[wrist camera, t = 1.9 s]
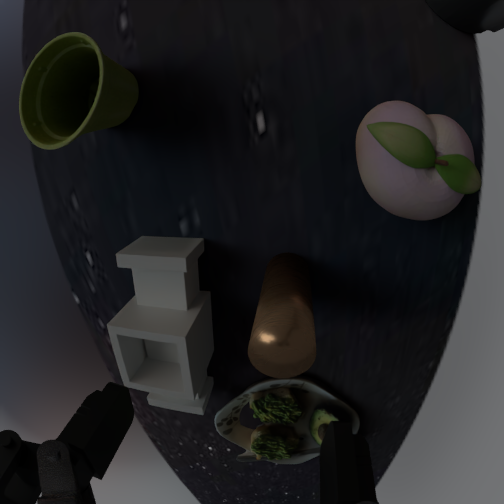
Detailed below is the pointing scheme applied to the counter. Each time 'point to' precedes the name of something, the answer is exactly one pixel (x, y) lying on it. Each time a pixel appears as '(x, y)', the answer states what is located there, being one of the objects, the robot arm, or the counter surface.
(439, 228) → the counter surface
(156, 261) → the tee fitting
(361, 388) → the counter surface
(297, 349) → the brown rounded rod
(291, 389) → the salad plate
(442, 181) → the decorative fruit
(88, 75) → the plant pot
